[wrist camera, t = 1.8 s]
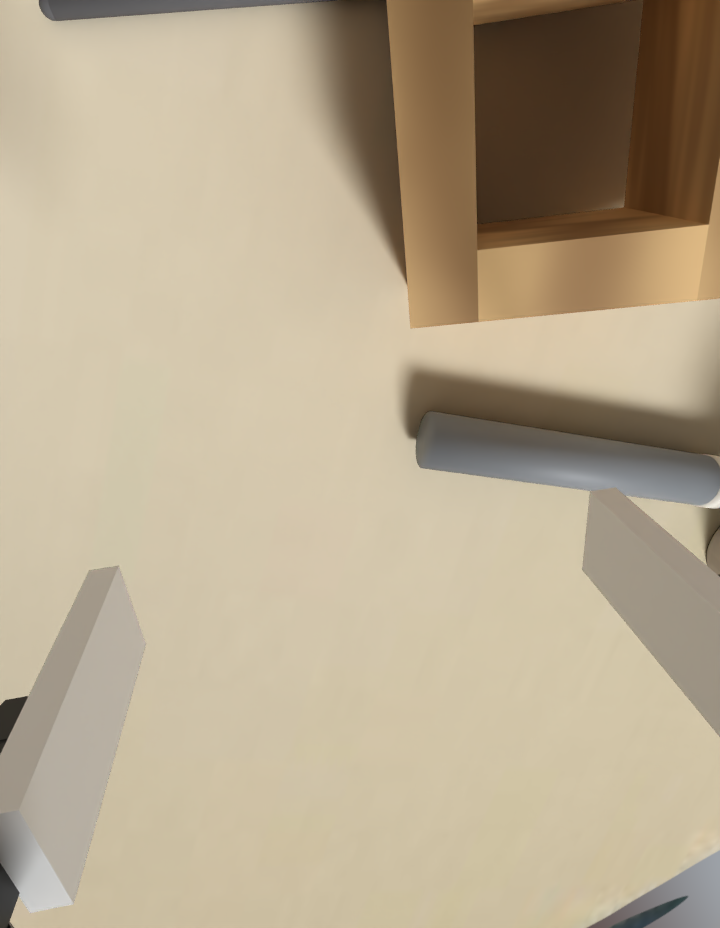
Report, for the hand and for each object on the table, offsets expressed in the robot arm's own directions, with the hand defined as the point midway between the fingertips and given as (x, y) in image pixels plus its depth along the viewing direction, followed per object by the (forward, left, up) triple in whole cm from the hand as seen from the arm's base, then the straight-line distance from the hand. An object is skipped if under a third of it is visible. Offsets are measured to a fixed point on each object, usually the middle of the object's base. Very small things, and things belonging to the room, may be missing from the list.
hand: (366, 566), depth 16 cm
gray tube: (+5, -2, -12) cm, 13 cm away
